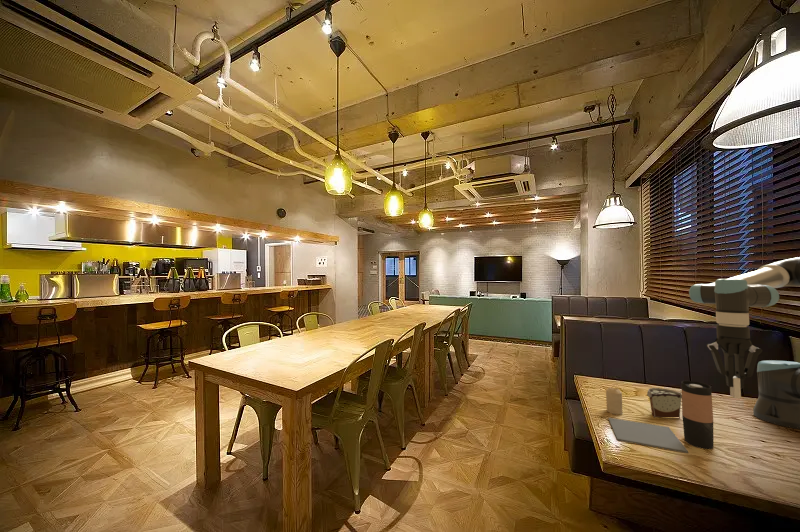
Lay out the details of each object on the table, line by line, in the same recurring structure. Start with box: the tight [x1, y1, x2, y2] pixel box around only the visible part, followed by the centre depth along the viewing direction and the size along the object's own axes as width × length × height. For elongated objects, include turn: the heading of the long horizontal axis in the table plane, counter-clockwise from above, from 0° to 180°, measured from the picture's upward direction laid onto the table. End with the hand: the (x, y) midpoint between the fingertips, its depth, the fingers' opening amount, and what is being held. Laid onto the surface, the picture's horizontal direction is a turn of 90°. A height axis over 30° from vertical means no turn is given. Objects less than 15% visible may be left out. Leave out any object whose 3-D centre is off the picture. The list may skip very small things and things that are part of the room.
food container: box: [646, 387, 682, 419], centre depth 128 cm, size 12×6×10 cm, turn 84°
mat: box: [607, 417, 689, 454], centre depth 112 cm, size 19×18×1 cm
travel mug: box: [680, 380, 714, 450], centre depth 105 cm, size 8×8×20 cm
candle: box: [605, 386, 623, 415], centre depth 131 cm, size 6×6×10 cm
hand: (735, 397), depth 101 cm, fingers closed
